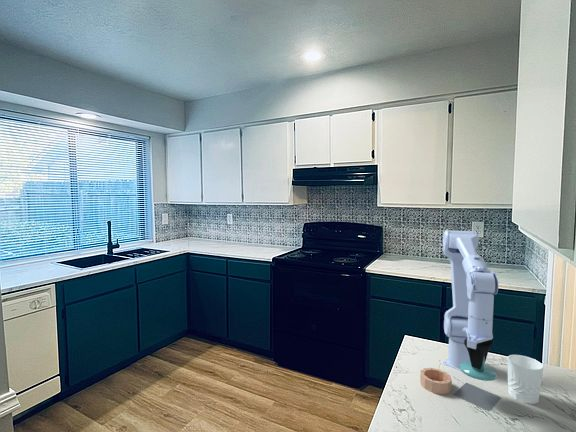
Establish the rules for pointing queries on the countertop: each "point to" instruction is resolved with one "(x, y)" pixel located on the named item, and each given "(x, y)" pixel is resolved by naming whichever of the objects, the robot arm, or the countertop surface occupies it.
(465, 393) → the mat
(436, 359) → the countertop surface
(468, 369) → the lid
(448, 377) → the bowl
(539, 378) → the white cup
